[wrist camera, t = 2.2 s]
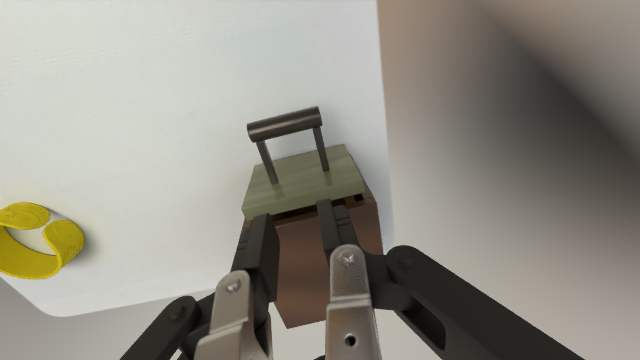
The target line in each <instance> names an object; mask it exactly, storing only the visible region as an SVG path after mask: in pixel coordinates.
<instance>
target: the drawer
mask: <svg viewBox="0 0 640 360" xmlns="http://www.w3.org/2000/svg"><path fill="white" fill-rule="evenodd" d="M320 126H322V120H321V116H320V112H319V108H318V106H315V107H311V108H307V109H303V110H300V111H296V112H292V113H288V114H284V115H280V116H276V117H272V118H268V119H264V120H260V121H256V122H252V123H248V124H247V131H248V135H249V137H250V139H251V141H252V142H253V143H255V142H256V144H257V147H258V150H259V152H260V155H261V158H262V161H263V163H264V164H260V165H256V166H255V168H254V171H253V174H252V177H251V180H250V183H249V187H248V190H247V193H246V196H245V199H244V202H243V205H242V211H243V214H244V216H245V218H246V220H247V221H249V220H253V218H254V216H257V215H261V214H265V213H269V214H270V216H271V218H272V221H273V222H274V221H278V220H282V219H286V218H290V217H294V216H299V215H303V214H307V213H311V212H315V211H318V210H317V203H316V201H319V200H323V199H327V198H330V202H331V206H332V207H335V206H339V205H344V204H348V203H352V202H356V201H355V199H354V196H353V195H356V194H360V193H364V192H365V190H364V184H363V179H362V177H361V175H360V173H359V171H358V170H357V168H356V166H355V164H354V162H353V160H352V158H351V156H350V154H349V153H348V151H347V149H346V147H345V145H344V144H341V145H337V146H333V147H329V148H325V146H324V142H323V137H322V133H321V129H320ZM311 128H312V129H313V133H314V137H315V141H316V145H317V149H318V150H317V151H313V152H309V153H305V154H301V155H296V156H292V157H288V158H284V159H280V160H276V161H272V160H271V157H270V155H269V152H268V149H267V146H266V143H265V140H267V139H271V138H275V137H279V136H283V135H287V134H291V133H295V132H299V131H303V130H307V129H311Z"/></svg>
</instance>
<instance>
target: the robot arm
mask: <svg viewBox="0 0 640 360" xmlns="http://www.w3.org/2000/svg"><path fill="white" fill-rule="evenodd" d="M316 203H317V210H318V216H319V223H320V230H321V236H322V243H323V249H324V253H325V256H326V260H327V263H328V266H329V270H330V302H327V305H326V337H325V339H326V340H325V341H326V342H325V355H323V356H320V357H318V358H316V359H314V360H382V355H381V349H380V343H379V337H378V331H377V325H376V318H375V311H374V308H375V309H385V310H394V312H395V313H396V314H397V315H398V316H399V317H400V318H401V319H402V320H403V321H404V322H405V323H406V324H407V325H408V326H409V327H410V328H411V329H412V330H413V331H414V332H415V333H416V334H417V335H418V336H419V337H420V338H421V339H422V340H423V341H424V342H425V343H426V344H427V345H428V346H429V347H430V348H431V349H432V350H433V351H434V352H435V353H436V354H437V355H438V356H439V357H440V358H441V359H442V360H584V359H583V358H581V357H580V356H578V355H577V354H575V353H574V352H572V351H571V350H569V349H568V348H566V347H565V346H563V345H562V344H560V343H559V342H557V341H556V340H554V339H553V338H551V337H549V336H548V335H547V334H545V333H544V332H542V331H541V330H539V329H537V328H536V327H534V326H533V325H531V324H530V323H528V322H527V321H525V320H524V319H522V318H521V317H519V316H518V315H516V314H515V313H513V312H512V311H510V310H509V309H507V308H506V307H504V306H503V305H501V304H499V303H498V302H497V301H495V300H493V299H492V298H490V297H489V296H487V295H486V294H484V293H483V292H481V291H480V290H478V289H477V288H475V287H474V286H472V285H471V284H469V283H468V282H466V281H465V280H463V279H462V278H460V277H459V276H457V275H455V274H454V273H453V272H451V271H449V270H448V269H446V268H445V267H444V266H442V265H440V264H439V263H437V262H436V261H434V260H433V259H431V258H430V257H428V256H427V255H425V254H424V253H422V252H421V251H419V250H418V249H416V248H414V247H411V246H406V245H405V246H404V245H402V246H396V247H394V248H392V249H391V250H389V251H388V253H387V255H375V254H371V253H368V252H366V251H365V250H363V249H362V248H361V246H360V244H359V242H358V239H357V236H356V233H355V230H354V227H353V224H352V221H351V218H350V215H349V212H348V210H347V209H346V208H345V207H344V206H343V205H339V206H335V207H332V206H331V202H330V198H327V199H323V200H319V201H316ZM238 244H239V245H238V246H237V251H236V253H235V257H234V261H233V264H232V268H231V271H230V273H229V274H227V275H226V276H225V277H223V278H222V279H221V280H220V282H219V283H218V285H217V287H216V291H215V292H214V293H212V294H211V295H209V296H207V297H205V298H203V299H201V300H199V301H197V302H196V300H195V299H194V298H193V297H192V296H183V297H180V298H178V299H176V300H174V301H173V302H171V303H170V304H169V305H168V306H167V307H166V308H165V309H164V310H163V311H162V312H161V313H160V314H159V316H158V317H157V318H156V319H155V320H154V321H153V322H152V324H151V325H150V326H149V327H148V328H147V329H146V330H145V331H144V332H143V334H142V335H141V336H140V337H139V338H138V339H137V340H136V342H135V343H134V344H133V345H132V346H131V347H130V348H129V349H128V351H127V352H126V353H125V354H124V355H123V356H122V357H121V358H120V360H170V358H171V357H172V356H173V354H174V353H175V352H176V350H177V349H179V350H180V351H181V352H182V353H181V355H180V356H179V358H178V359H177V360H273V349H272V335H271V334H272V333H271V318H270V314H269V312H268V307H269V303H270V302H274V301H277V288H278V272H279V256H280V240H279V236H278V233H277V231H276V228H275V226H274V223H273V221H272V218H271V216H270V214H269V213H265V214H261V215H257V216H254V218H253V222H252V226H251V227H248V228H246V229H245V230H244V231H243V233H242V234H241V235H240V239H239V242H238Z"/></svg>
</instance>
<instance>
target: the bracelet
mask: <svg viewBox="0 0 640 360" xmlns="http://www.w3.org/2000/svg"><path fill="white" fill-rule="evenodd" d="M49 218H50V214H49V212H48V210H47V209H45V208H43V207H41V206H38V205H35V204H30V203H16V204H12V205H9V206H7V207H5V208H4V209H2V210H0V272H2V273H4V274H7V275H10V276H14V277H18V278H23V279H45V278H49V277H51V276H53V275H55V274H56V273H58V272H59V270H60V269H61V268H62V267H64V266H65V265H66V264H67V263H68V262H70V261H71V260H72V259H73V258H74V257H75V256H76V255H77V254H78V253H79V251H80V250H81V249H82V248H83V246H84V242H85V241H84V235H83V233H82V231H81V230H80V229H79V228H78V227H77V226H76V225H75V224H74V223H73V222H70V221H66V220H60V221H54V222H51V223H49V224H48V225H47V226H46V227H45V228H44V230H43V236H44V239H45V240H46V242H47V243H48V245H49V246H50V247H51V248H52V249H53V250H54V252H55V254H56V256H53V255H46V254H42V253H38V252H35V251H33V250H31V249H28V248H26V247H24V246H23V245H21V244H20V243H18V242H17V241H16V240H14V239H13V238H12V237H11V236H10V235H9V233H8V232H7V231H6V229H5V227H4V226H7V227H12V228H16V229H24V230H30V229H35V228H39V227H41V226H43V225H45V224H46V223H47V222H48V221H49Z"/></svg>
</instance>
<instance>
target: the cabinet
mask: <svg viewBox="0 0 640 360" xmlns="http://www.w3.org/2000/svg"><path fill="white" fill-rule="evenodd" d="M350 156H351V154H350ZM351 158H352V156H351ZM352 160H353V158H352ZM353 162H354V160H353ZM354 164H355V166H356V168H357V170H358V171H359V169H358V167H357V165H356V163H355V162H354ZM359 173H360V171H359ZM360 175H361V173H360ZM361 177H362V179H363V184H364V190H365V192H364V193H360V194H356V195H353V196H354V199H355V201H356V202H352V203H348V204H344V205H343V206H344V207H345V208H346V209H347V210H348V212H349V215H350V218H351V221H352V224H353V227H354V230H355V233H356V236H357V239H358V242H359V244H360V246H361V248H362V249H363V250H365V251H366V252H368V253H371V254H375V255H384V254H383V247H382V239H381V232H380V224H379V217H378V210H377V203H376V201H375V199H374V197H373V195H372V193H371V191H370V189H369V187H368V186H367V184H366V182H365V180H364V178H363V176H362V175H361ZM252 222H253V220H249V221H247V220H246V218H245V220H244V224H243V227H242V231H241V234H242V233H243V231H244V230H245V229H246V228H248V227H251V226H252ZM273 223H274V226H275V228H276V231H277V233H278V236H279V240H280V256H279V272H278V288H277V301H274V304H275V306H276V308H277V310H278V312H279V314H280V316H281V318H282V320H283V322H284V324H285V326H286V328H287V329H289V328H293V327H298V326H302V325H306V324H311V323H315V322H319V321H324V320H326V305H327V302H330V270H329V266H328V263H327V260H326V256H325V253H324V249H323V243H322V236H321V230H320V223H319V216H318V211H315V212H311V213H307V214H303V215H299V216H294V217H290V218H286V219H282V220H278V221H274V222H273ZM241 234H240V235H241ZM374 309H375V308H374Z"/></svg>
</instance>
